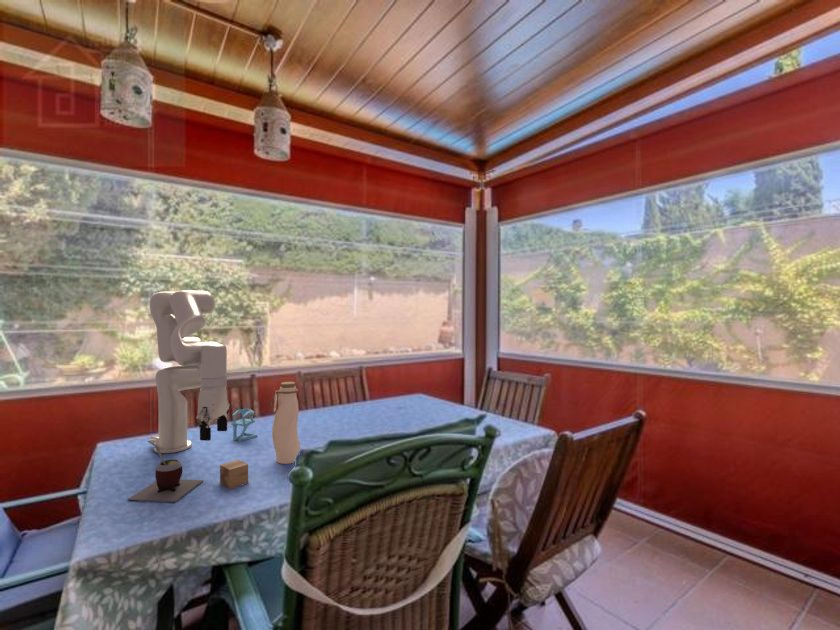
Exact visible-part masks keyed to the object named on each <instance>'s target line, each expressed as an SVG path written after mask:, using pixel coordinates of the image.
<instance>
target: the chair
mask: <svg viewBox="0 0 840 630" xmlns="http://www.w3.org/2000/svg"><path fill="white" fill-rule="evenodd" d="M238 414H241V419H239V420H237V418H236V416H237V415H238ZM254 414H255V411H254V410H253V409H251V408H247V407H246V408H243V409H242V408H241V409H238V410H236V411H235V412H234V413H232V418H233V421H232V422H231V426H232V429H233V439H232V441H233V442H236V441H240V442H243V441H246V439H247V440H250V439H254V438H257V437H258V433H250V432H246V431H247V429H248V428H249V426H250V425H252V424H254V423H256V420H255V419H254V418H253V417H254ZM249 415H251V416H250V419H248V418H247V416H249ZM238 426H240V427H243V429H242V431H241V432H240V433H239V434H238V435H237V432H238V431H237V428H238ZM243 436H244V437H243ZM235 440H236V441H235ZM242 440H243V441H242Z"/></svg>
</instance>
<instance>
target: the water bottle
mask: <svg viewBox="0 0 840 630" xmlns="http://www.w3.org/2000/svg"><path fill="white" fill-rule="evenodd" d="M299 391H300V390H299V388H297V386H296V382H295V381H284V382H283V381H282V382H281V383H280V387H279V389H277V390H275V392H274V394H273V396H272V397H271V400H270V409H273V412H275V414H274V417H273V421H272V422H273V423H272V427H271V428H272V429H271V430H272V432H271V434H272V435H271V436H272V444H273V447H274V451H275V452H274V453H275V458H276V459H275V460H276V463H278V464H282V465H283V464H285V465H288V464H293V463H295V462H294V460H295V457H296V455H297V453H298V452H299V451H301V443H300V440H299V435H298V421H299V413H300V412H299V400H298V398H297V393H299ZM277 405H278V407H277Z"/></svg>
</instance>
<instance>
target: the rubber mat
mask: <svg viewBox="0 0 840 630" xmlns="http://www.w3.org/2000/svg"><path fill="white" fill-rule="evenodd" d="M203 482H204V480H203V479H202V480H201V479H185V478H183V479H182V478H180V481H179V483H180V486H177V487H175V489H176V491H174V492H172V491H170V490H165V491H163V492H160V493H158V490H159V489H158V486H157V481H156V480H155V481H154V482H153V483H151V484H149V485H147V486H146V487H145V488H143V489H141V490H140V491H138V492H136V493H135V494H134V495H132V496H130V497H129V498H127V501H128V500H138V501H137V502H144V501H161V502H160V503H167V502H176V503H177V502H179V501H180V500H181V499H182V497H183V496H184V495H185V496H187V495H188V494H189V493H191V492H192V491H194V489H196V488H197V487H198V486H199V485H201V484H202V483H203ZM195 487H196V488H195ZM191 490H192V491H191ZM188 492H189V493H188ZM187 493H188V494H187ZM185 496H184V497H185ZM184 497H183V498H184ZM179 499H180V500H179ZM178 500H179V501H178Z"/></svg>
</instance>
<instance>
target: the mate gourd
mask: <svg viewBox="0 0 840 630" xmlns="http://www.w3.org/2000/svg"><path fill="white" fill-rule="evenodd" d="M147 443H149V444H150V445H153V447H156V450H157V451H158V455H159V457H160V459H161V462H159V463H158V465H157V466H156V467H155V472H154V473H155V474H154V475H155V482H156V481H157V486H158V489H159V490H158V493H160V492H163V491H165V490H170V491H172V492H174V491H176V489H175V487H177V486H180V483H179V481H180V479H182V476H183V472H184V471H183V464H182V463H181V461H180V460H179V459H167V460H165V459H164V456H163V453H161V452H160V450H159V447H158V446H157V445H156V443H152V442H150V440H147Z"/></svg>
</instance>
